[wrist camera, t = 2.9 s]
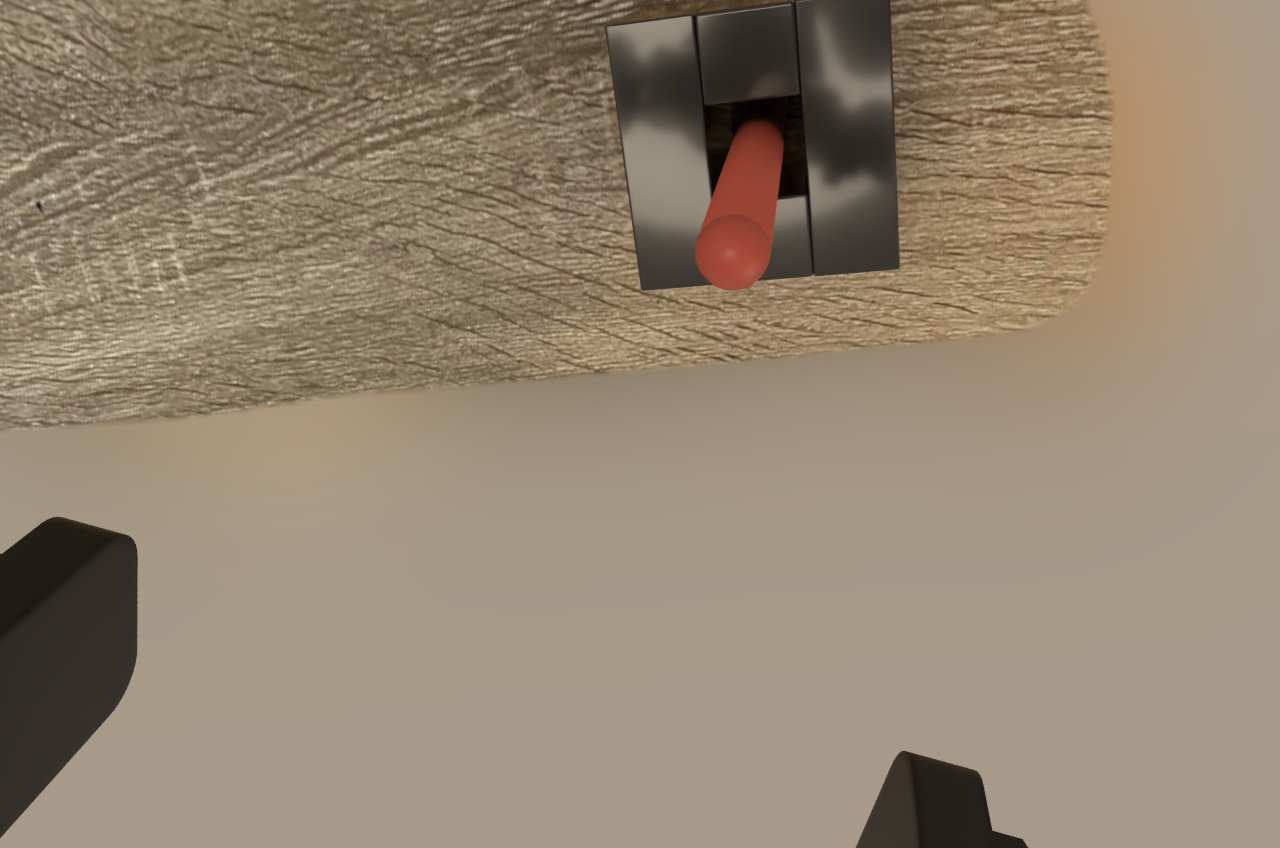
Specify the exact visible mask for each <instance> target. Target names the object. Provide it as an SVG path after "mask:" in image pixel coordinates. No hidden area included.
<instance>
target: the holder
mask: <svg viewBox="0 0 1280 848" xmlns="http://www.w3.org/2000/svg"><path fill="white" fill-rule="evenodd" d="M605 30H606V37H607V44H608V52H609V59H610V66H611V73H612V81H613V88H614V95H615V102H616V110H617V117H618V124H619V131H620V139H621V146H622V153H623V160H624V168H625V175H626V182H627V189H628V197H629V204H630V211H631V218H632V226H633V233H634V240H635V247H636V255H637V262H638V269H639V276H640V284H641V289H642V290H643V291H646V290H658V289H669V288H681V287H693V286H705V285H713V284H712V283H710V282H709V281H708V280H707V279H706V278H705V277H704V276H703V275H702V274H701V272H700V271H699V268H698V266H697V263H696V259H695V245H696V241H697V238H698V235H699V233H700V230H701V227H702V224H703V222H704V219H705V216H706V213H707V210H708V208H709V205H710V202H711V199H712V197H713V194H714V191H715V188H716V186H717V183H718V180H719V177H720V175H721V172H722V169H723V166H724V163H725V161H726V158H727V155H728V152H729V150H730V147H731V144H732V141H733V137H732V126H731V116H730V106H729V103H738V102H746V101H755V100H763V99H772V98H781V97H789V96H797V95H799V94H800V92H801V98H802V113H803V127H804V140H797V141H788V142H784V151H783V159H782V167H781V175H780V183H779V191H778V199H777V207H776V215H775V224H774V232H773V240H772V248H771V256H770V261H769V264H768V267H767V269H766V271H765V272H764V274H763V275H762V276H761V278H760V279H758V280H757V281H761V280H773V279H785V278H796V277H808V276H812V275H813V273H814V276H824V275H836V274H848V273H859V272H871V271H883V270H895V269H899V268H900V261H899V233H898V205H897V177H896V149H895V121H894V93H893V65H892V37H891V9H890V0H673V1H665V2H658V3H651V4H648V5H646V6H644V7H642V8H640V9H638V10H636V11H634V12H632V13H630V14H628V15H626V16H624V17H622V18H620V19H618V20H616V21H614V22H612V23H610V24H608V25H606V27H605Z"/></svg>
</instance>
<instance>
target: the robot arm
mask: <svg viewBox="0 0 1280 848" xmlns="http://www.w3.org/2000/svg"><path fill="white" fill-rule="evenodd" d="M137 558H138V557H137V548H136V544H135V542H134V540H133V539H132V538H131V537H129V536H128V535H125V534H121V533H117V532H113V531H110V530H106V529H103V528H99V527H95V526H92V525H88V524H85V523H81V522H77V521H74V520H70V519H66V518H63V517H53V518H51V519H48V520H46V521H44V522H43V523H41V524H40V525H39V526H38V527H36V528H35V529H33V530H32V531H31V532H30V533H29V534H27V535H26V536H25V537H23V538H22V539H21V540H19V541H18V542H17V543H15V544H14V545H13V546H12V547H10V548H9V549H8V550H6V551H5V552H4V553H3V554H0V838H1V837H2V836H3V834H4V833H5V832H6V831H7V830H8V829H9V828H10V827H11V826H12V824H13V823H14V822H15V821H16V820H17V819H18V818H19V817H20V815H21V814H22V813H23V812H24V811H25V810H26V809H27V808H28V806H29V805H30V804H31V803H32V802H33V801H34V800H35V799H36V797H37V796H38V795H39V794H40V793H41V792H42V791H43V790H44V789H45V787H46V786H47V785H48V784H49V783H50V782H51V781H52V780H53V778H54V777H55V776H56V775H57V774H58V773H59V772H60V771H61V769H62V768H63V767H64V766H65V765H66V764H67V763H68V762H69V761H70V759H71V758H72V757H73V756H74V755H75V754H76V753H77V751H78V750H79V749H80V748H81V747H82V746H83V745H84V744H85V743H86V741H87V740H88V739H89V738H90V737H91V736H92V735H93V734H94V732H95V731H96V730H97V729H98V728H99V727H100V726H101V725H102V723H103V722H104V721H105V720H106V719H107V718H108V717H109V715H110V714H111V713H112V712H113V711H114V709H115V708H116V707H117V705H118V704H119V702H120V700H121V699H122V697H123V695H124V693H125V691H126V689H127V687H128V685H129V682H130V679H131V677H132V674H133V671H134V667H135V663H136V657H137V566H138V559H137ZM856 848H1028V847H1027V845H1026V844H1025V842H1024V841H1023V839H1020V838H1017V837H1013V836H1009V835H1006V834H1002V833H998V832H995V831H992V827H991V822H990V817H989V812H988V806H987V801H986V796H985V791H984V786H983V782H982V779H981V777H980V774H979V773H978V772H977V771H975V770H972V769H968V768H965V767H961V766H958V765H954V764H950V763H946V762H943V761H939V760H936V759H932V758H929V757H924V756H921V755H917V754H914V753H910V752H906V751H902V752H900V753H899V754H898V755H897V757H896V758H895V760H894V762H893V764H892V766H891V768H890V770H889V773H888V775H887V777H886V779H885V782H884V784H883V786H882V789H881V791H880V793H879V796H878V798H877V800H876V803H875V805H874V807H873V809H872V812H871V814H870V816H869V818H868V821H867V823H866V825H865V828H864V830H863V832H862V835H861V837H860V839H859V842H858V844H857V846H856Z"/></svg>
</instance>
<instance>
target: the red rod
mask: <svg viewBox="0 0 1280 848" xmlns="http://www.w3.org/2000/svg"><path fill="white" fill-rule="evenodd" d="M788 110H789V103H788V99H787V97H781V98H772V99H763V100H755V101H747V103H746V105H745V108H744V111H743V114H742V116H741V119H740V122H739V125H738V127H737V130H736V133H735V136H734V139H733V141H732V144H731V147H730V150H729V152H728V155H727V158H726V161H725V163H724V166H723V169H722V172H721V175H720V177H719V180H718V183H717V186H716V188H715V191H714V194H713V197H712V199H711V202H710V205H709V208H708V210H707V213H706V216H705V219H704V222H703V224H702V227H701V230H700V233H699V235H698V238H697V241H696V245H695V259H696V263H697V266H698V268H699V271H700V272H701V274H702V275H703V276H704V277H705V278H706V279H707V280H708V281H709V282H710V283H712V284H713V285H715V286H717V287H719V288H722V289H727V290H737V289H743V288H745V287H748V286H750V285H752V284H753V283H755V282H756V281H757V280H758V279H760V278H761V276H762V275H763V274H764V272H765V271H766V269H767V267H768V264H769V261H770V256H771V248H772V240H773V232H774V224H775V215H776V207H777V199H778V191H779V183H780V175H781V167H782V159H783V151H784V142H785V134H786V126H787V118H788Z"/></svg>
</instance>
